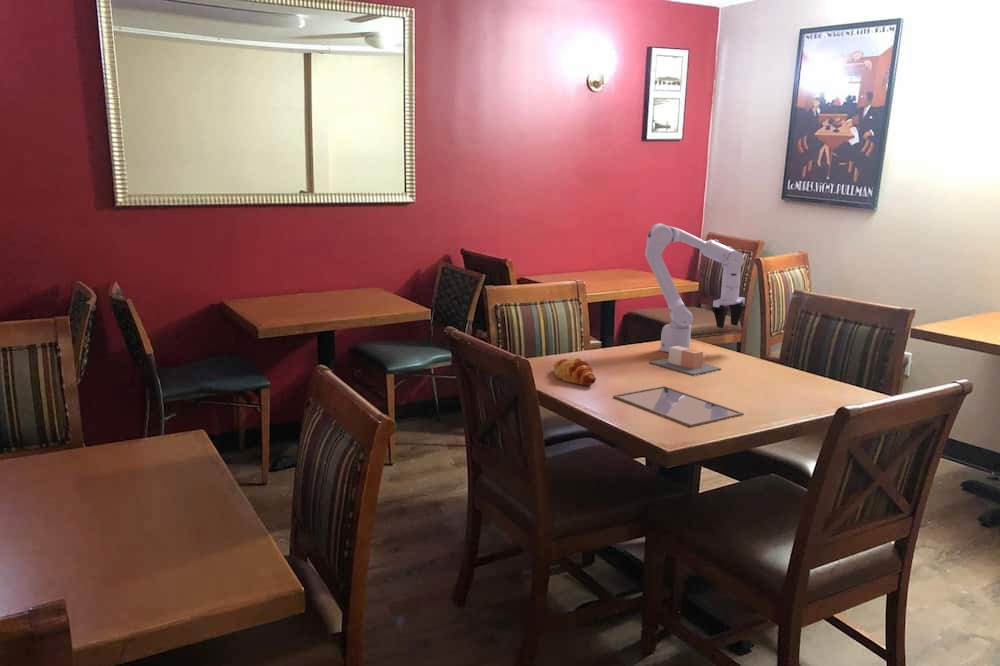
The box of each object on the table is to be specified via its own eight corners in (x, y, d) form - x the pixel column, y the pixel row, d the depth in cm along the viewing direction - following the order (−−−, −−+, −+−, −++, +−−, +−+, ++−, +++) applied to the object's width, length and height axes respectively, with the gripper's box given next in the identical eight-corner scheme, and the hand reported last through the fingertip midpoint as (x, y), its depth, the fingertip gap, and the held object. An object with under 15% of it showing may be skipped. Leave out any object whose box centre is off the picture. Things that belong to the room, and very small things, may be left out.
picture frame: (743, 416, 198) (664, 389, 221) (743, 412, 198) (664, 385, 221) (690, 429, 188) (613, 399, 211) (690, 425, 188) (613, 395, 210)
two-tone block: (693, 369, 240) (694, 353, 239) (668, 362, 247) (669, 347, 246) (701, 367, 242) (702, 351, 241) (676, 360, 250) (677, 345, 249)
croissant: (547, 382, 237) (537, 361, 233) (572, 364, 240) (562, 343, 237) (585, 400, 218) (575, 377, 215) (612, 380, 221) (602, 357, 218)
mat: (649, 363, 248) (649, 361, 248) (676, 357, 256) (676, 356, 256) (694, 375, 234) (694, 374, 234) (721, 369, 242) (721, 368, 242)
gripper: (726, 289, 251) (723, 330, 254) (754, 286, 259) (750, 326, 262) (709, 286, 256) (706, 327, 259) (736, 283, 265) (732, 322, 268)
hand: (727, 326), depth 261 cm, fingers open, 7 cm apart
